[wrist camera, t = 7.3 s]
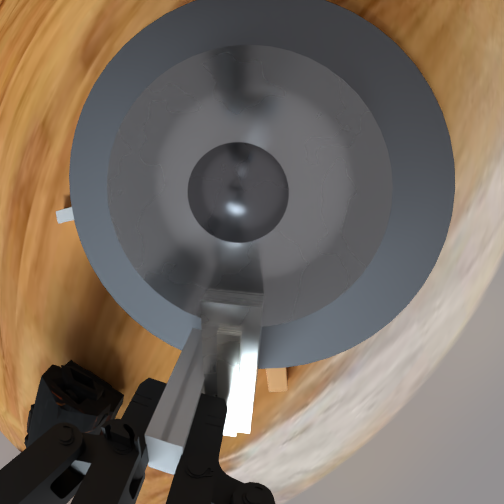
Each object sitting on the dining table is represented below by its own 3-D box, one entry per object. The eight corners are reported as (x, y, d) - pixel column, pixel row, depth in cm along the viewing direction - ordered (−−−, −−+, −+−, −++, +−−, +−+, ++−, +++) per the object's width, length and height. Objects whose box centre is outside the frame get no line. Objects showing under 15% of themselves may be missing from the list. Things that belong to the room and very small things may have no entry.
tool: (163, 354, 27) (120, 436, 12) (104, 471, 26) (71, 543, 11) (99, 314, 26) (13, 357, 12) (55, 441, 25) (7, 500, 10)
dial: (149, 76, 11) (97, 49, 6) (373, 85, 10) (413, 54, 6) (156, 362, 15) (128, 413, 11) (326, 383, 15) (334, 441, 11)
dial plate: (106, 9, 11) (90, -2, 9) (458, 73, 10) (476, 66, 9) (68, 316, 18) (53, 328, 16) (351, 394, 18) (356, 413, 16)
